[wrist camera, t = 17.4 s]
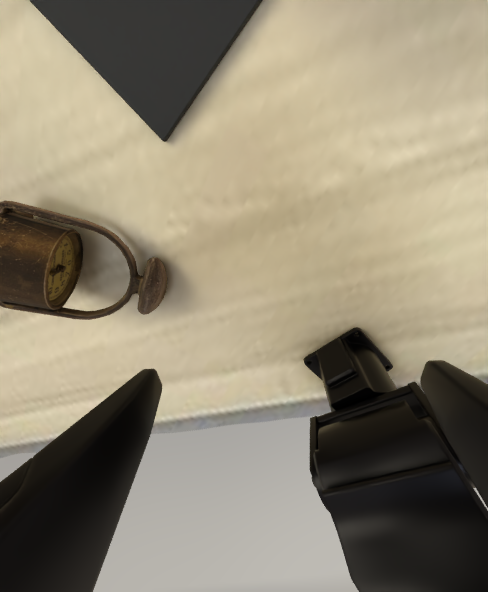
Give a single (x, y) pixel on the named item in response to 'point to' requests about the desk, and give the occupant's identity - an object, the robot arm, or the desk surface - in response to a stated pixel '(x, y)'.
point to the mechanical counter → (60, 264)
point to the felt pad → (152, 47)
